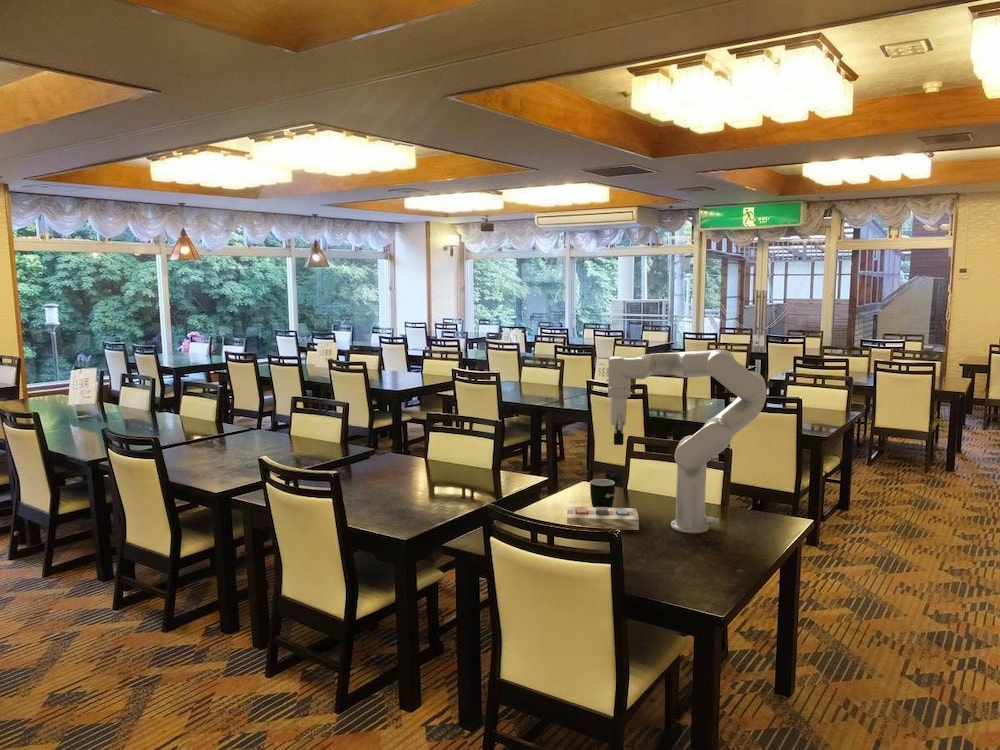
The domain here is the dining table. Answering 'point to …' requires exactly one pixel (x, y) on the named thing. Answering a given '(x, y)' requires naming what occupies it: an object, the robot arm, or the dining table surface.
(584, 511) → the button red
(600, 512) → the button grey
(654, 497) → the dining table surface
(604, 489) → the mug
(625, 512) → the button blue
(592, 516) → the panel
